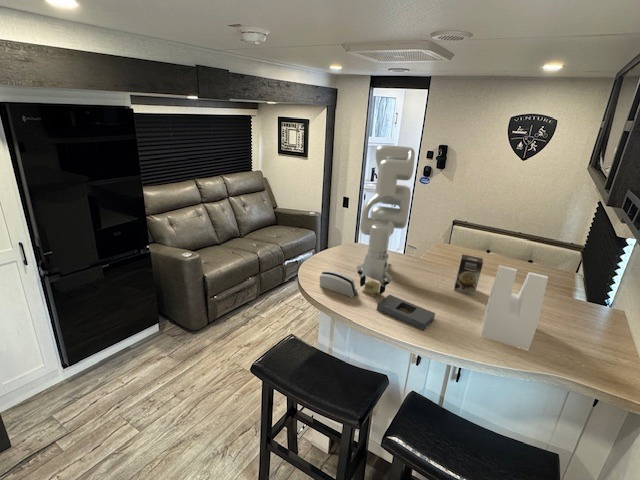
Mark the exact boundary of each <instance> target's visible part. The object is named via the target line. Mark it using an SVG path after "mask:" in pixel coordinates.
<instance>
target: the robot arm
mask: <svg viewBox="0 0 640 480" xmlns="http://www.w3.org/2000/svg"><path fill="white" fill-rule="evenodd" d="M415 156H416V152H415V149H414V148H413V147H409V146H401V145H391V144H383V145H378V146H377V147H376V149H375V160H376V161H375V162H376V166H377V169H378V171H377V180H376V186H375V191H374V194H373V196H372V197H370V198H369V200H367V201H366V203H365V205H364V207H363V208H362V211H361V212H362V213H361V218H360V225H359V226H360V228H359V230H360V232H361V233H362V234H363V235H366V236H369V239H368V247H367V253H366V254H365V257H364V260H363V264H359V265H356V270H357V274H358V275H359V278H360V279H359V286H360V287H363V286H365V283H366V280H367V278H370V279H371V280H372V279H373V280H375V281H378V282H379V283H380V285H379V292H378V294H379V295H382V294H383V293H385V291H386V286H387V285H389V284H390V283H391V282H392V281H393V279H394V278H393V277H392V276H391V275H390V274H389V273H388V269H389V265H388V259H389V258H390V257H389V254H388V249H389V244H390V243H389V241H390V237H391V236H392V235H393V234H394V231H395V229H398V230H399V229H400V230H401V229H404V228H406V226H407V224H408V219H409V211H410V204H411V193H412V191H411V189H410V187H408V186H406V185H400V184H398V183H397V182H398V180H399V181H410V180H411V179H412V177H413V174H414V173H413V172H414V169H415V167H414V166H415V158H416V157H415ZM377 204H383V205H391V206H397V207H389V206H381V205H380V206H379V205H378V206H375V205H377ZM372 207H373V208H372ZM398 207H399V208H398ZM369 212H370V217H369ZM366 277H367V278H366ZM386 279H387V280H386Z"/></svg>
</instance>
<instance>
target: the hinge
mask: <svg viewBox="0 0 640 480" xmlns="http://www.w3.org/2000/svg"><path fill="white" fill-rule="evenodd" d="M354 281H355V280H354V279H352V278H351V277H349V276H347V275H345V274H343V273H340V272H336V271H334V270H323V271H322V272H321V274H320V275H319V287H321V288H325V289H327V290H330V291H333V292H337V293H340V294H342V295H346V296H348V297H351V298H353V297H354V296H355V294H356V293H358V289H357V288H356V285H355V282H354Z"/></svg>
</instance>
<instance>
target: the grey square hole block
mask: <svg viewBox="0 0 640 480" xmlns="http://www.w3.org/2000/svg"><path fill="white" fill-rule="evenodd" d="M401 309H402V310H404V311H407V312H408V313H406V312H404V311H402V310H401ZM376 311H377V312H380V313H382V314H385V315H386V316H388V317H392V318H393V319H396V320H397V321H400V322H402V323H405V324H407V325H409V326H411V327H414V328H416V329H418V330H420V331H423V332H424V331H425V330H426V329H427V328H428V327H429V326H430V325H431V324H432V323H433V321H434V320H435V317H436V312H434V311H431V310H429V309H426V308H423V307H422V306H419V305H416V304H415V303H412V302H409V301H406V300H404V299H402V298H399V297H397V296H395V295H392V294H388V295H387V296H385V298H383V299H381V300H380V301H379V302H377V305H376ZM409 313H411V314H409Z"/></svg>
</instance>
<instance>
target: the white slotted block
mask: <svg viewBox="0 0 640 480" xmlns="http://www.w3.org/2000/svg"><path fill="white" fill-rule="evenodd" d="M516 276H517V268H513V267H509V266H504V265H500V264H499V265H498V268H497V271H496V275H495V277H494V279H493V283H492V286H491V289H490V291H489V292H490V293H489V296H488V299H487V300H488V301H487V303H486V307H485V310H484V316H483V321H482V330H481V335H480V337H481V336H482V337H481V338H485V339H488V338H489V339H488V340H491V339H492V341H494V340H496V341H495V342H497V341H500V342H499V343H501V342H503V343H502V344H504V343H506V344H505V345H507V344H510V345H513V346H517V347H520V348H524V349H528V350H530V348H531V345H532V343H533V339H534V336H535V333H536V331H537V327H538V325H539V321H540V315H541V311H542V307H543V303H544V297H545V293H546V289H547V284H548V280H549V277H548V276H547V275H545V274H544V275H543V274H539V273H535V272H531V271H529V272H528V273H527V275H526V277H525V279H524V281H523V284H522V286H521V288H520V290H519V293H513V289H514V285H515V280H516ZM510 345H509V346H510ZM513 346H512V347H513ZM517 347H516V348H517ZM520 348H519V349H520Z"/></svg>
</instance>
